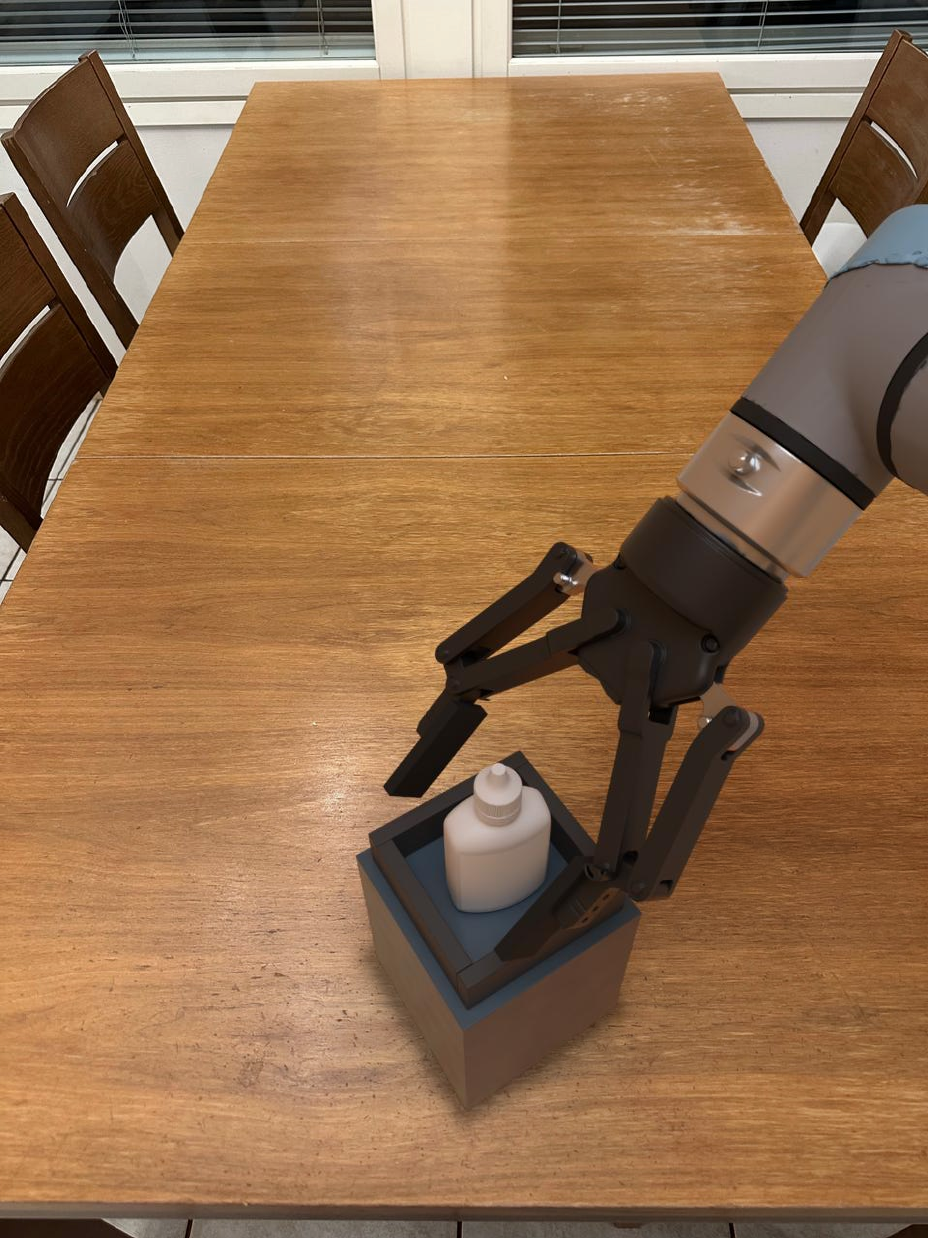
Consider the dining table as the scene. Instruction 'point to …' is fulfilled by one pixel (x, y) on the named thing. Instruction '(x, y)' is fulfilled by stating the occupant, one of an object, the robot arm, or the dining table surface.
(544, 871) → the eye dropper bottle
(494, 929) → the pedestal
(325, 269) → the dining table surface
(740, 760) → the dining table surface
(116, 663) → the dining table surface
